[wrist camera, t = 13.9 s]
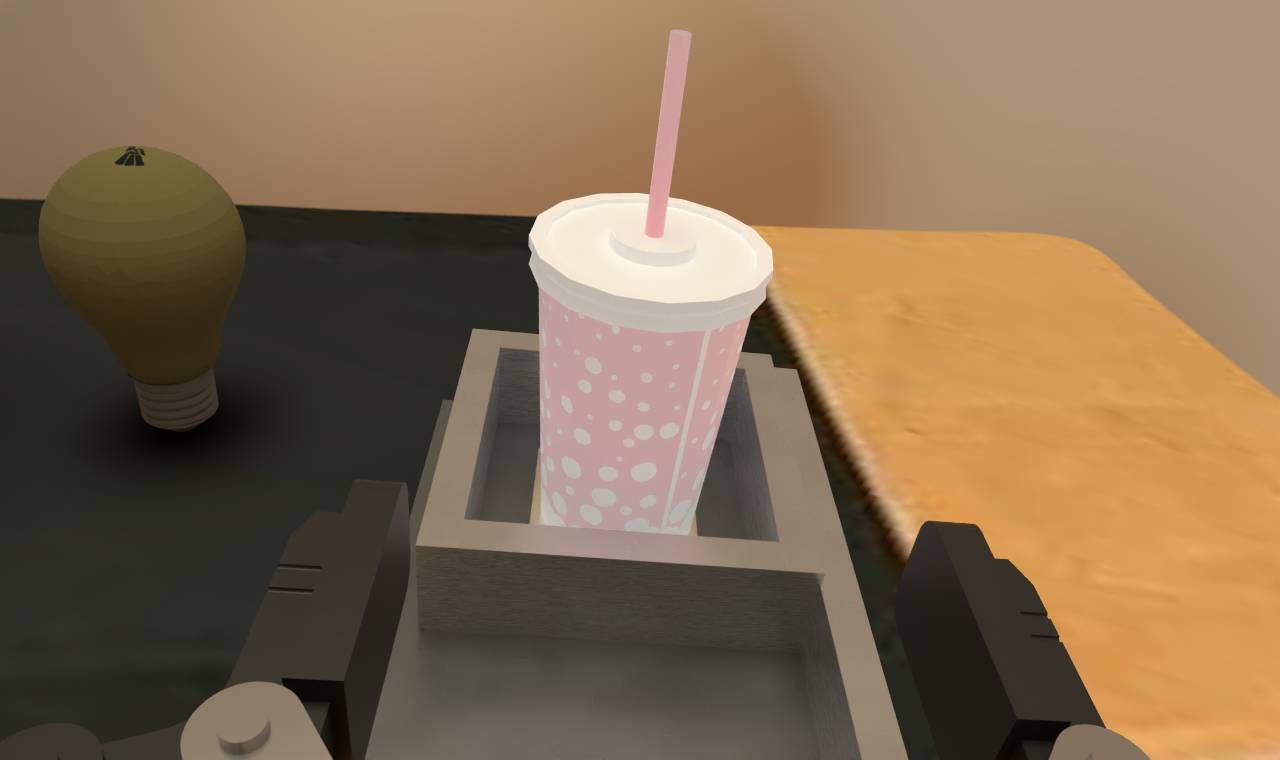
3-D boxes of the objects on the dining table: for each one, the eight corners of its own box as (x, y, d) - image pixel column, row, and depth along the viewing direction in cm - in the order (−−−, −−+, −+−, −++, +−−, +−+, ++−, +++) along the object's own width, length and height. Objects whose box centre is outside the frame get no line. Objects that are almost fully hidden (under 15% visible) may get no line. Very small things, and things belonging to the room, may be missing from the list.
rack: (293, 1017, 18) (262, 887, 15) (443, 444, 33) (442, 325, 30) (889, 1035, 19) (965, 915, 16) (771, 470, 33) (799, 357, 31)
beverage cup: (655, 430, 31) (722, -1, 23) (755, 549, 27) (879, 70, 19) (485, 471, 28) (497, -3, 20) (567, 611, 24) (621, 80, 16)
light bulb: (297, 439, 32) (263, 169, 26) (125, 499, 29) (45, 205, 23) (234, 364, 35) (192, 109, 30) (74, 410, 32) (-8, 133, 26)
